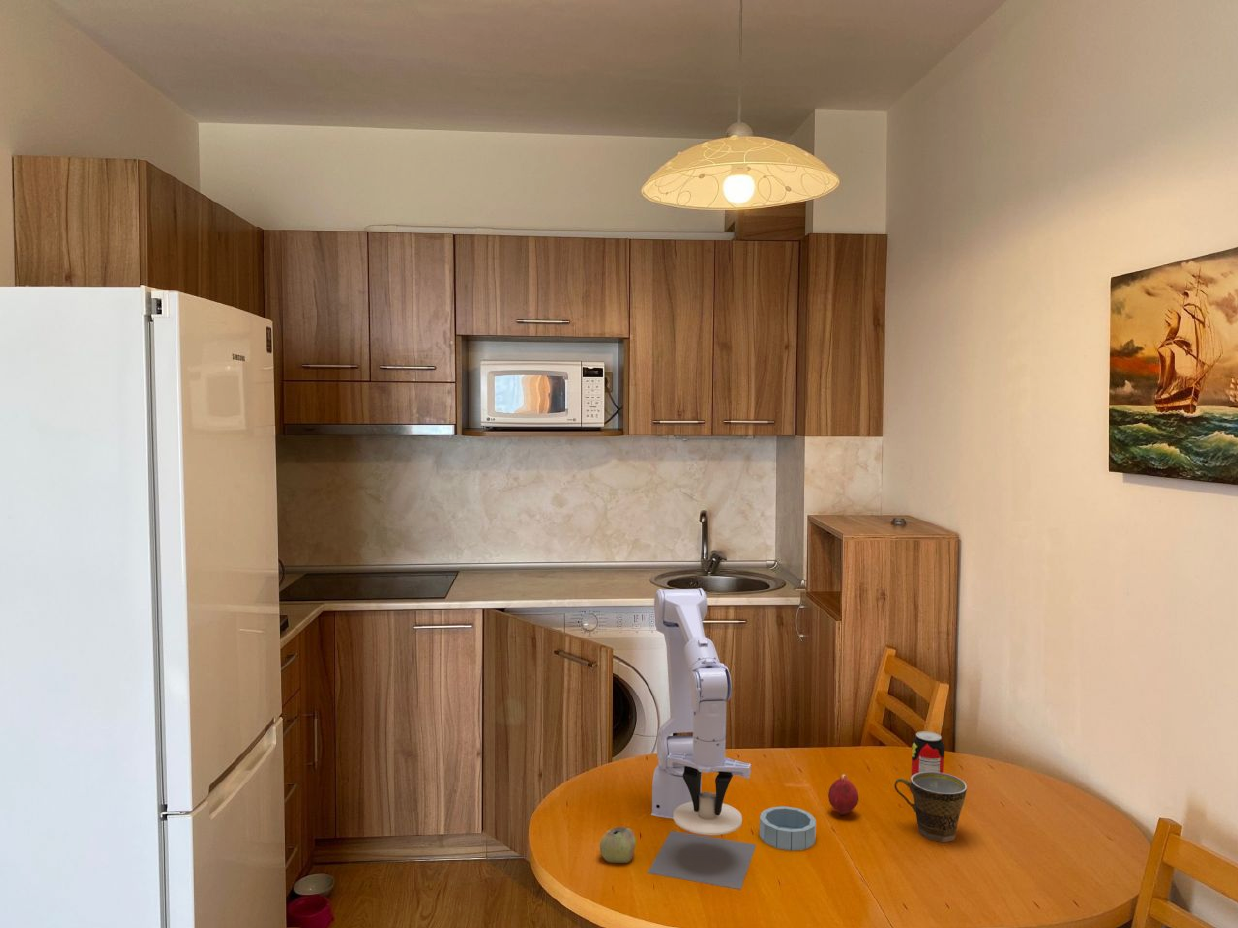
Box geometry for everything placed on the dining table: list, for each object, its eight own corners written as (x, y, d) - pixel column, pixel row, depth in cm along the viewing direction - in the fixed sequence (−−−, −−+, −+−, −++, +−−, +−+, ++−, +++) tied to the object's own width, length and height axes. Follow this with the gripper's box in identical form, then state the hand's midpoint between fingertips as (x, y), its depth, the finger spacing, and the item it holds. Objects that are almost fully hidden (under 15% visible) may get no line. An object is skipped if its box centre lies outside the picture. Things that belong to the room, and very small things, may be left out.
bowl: (756, 847, 163) (756, 826, 163) (764, 823, 173) (765, 803, 172) (812, 856, 160) (812, 834, 160) (817, 831, 170) (818, 811, 169)
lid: (665, 828, 154) (666, 804, 154) (682, 799, 165) (682, 777, 165) (735, 839, 150) (735, 815, 150) (747, 809, 162) (747, 786, 162)
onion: (858, 822, 174) (859, 782, 173) (828, 819, 175) (829, 779, 174) (856, 809, 179) (858, 770, 179) (827, 806, 180) (828, 767, 180)
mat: (647, 875, 153) (647, 872, 153) (671, 833, 168) (671, 830, 168) (740, 892, 148) (740, 889, 148) (756, 847, 163) (756, 844, 163)
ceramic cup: (966, 827, 172) (968, 777, 171) (963, 851, 163) (965, 797, 162) (896, 814, 177) (898, 765, 177) (889, 835, 168) (891, 784, 168)
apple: (648, 866, 156) (648, 833, 156) (603, 871, 154) (604, 838, 154) (638, 849, 162) (639, 818, 162) (595, 855, 160) (596, 822, 160)
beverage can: (945, 789, 189) (947, 734, 188) (938, 800, 184) (940, 743, 183) (915, 782, 193) (917, 727, 192) (907, 793, 187) (909, 736, 186)
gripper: (663, 738, 155) (661, 814, 156) (746, 749, 151) (744, 827, 152) (673, 724, 162) (672, 797, 163) (753, 734, 158) (751, 809, 159)
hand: (707, 810), depth 158 cm, fingers closed on lid, 3 cm apart
